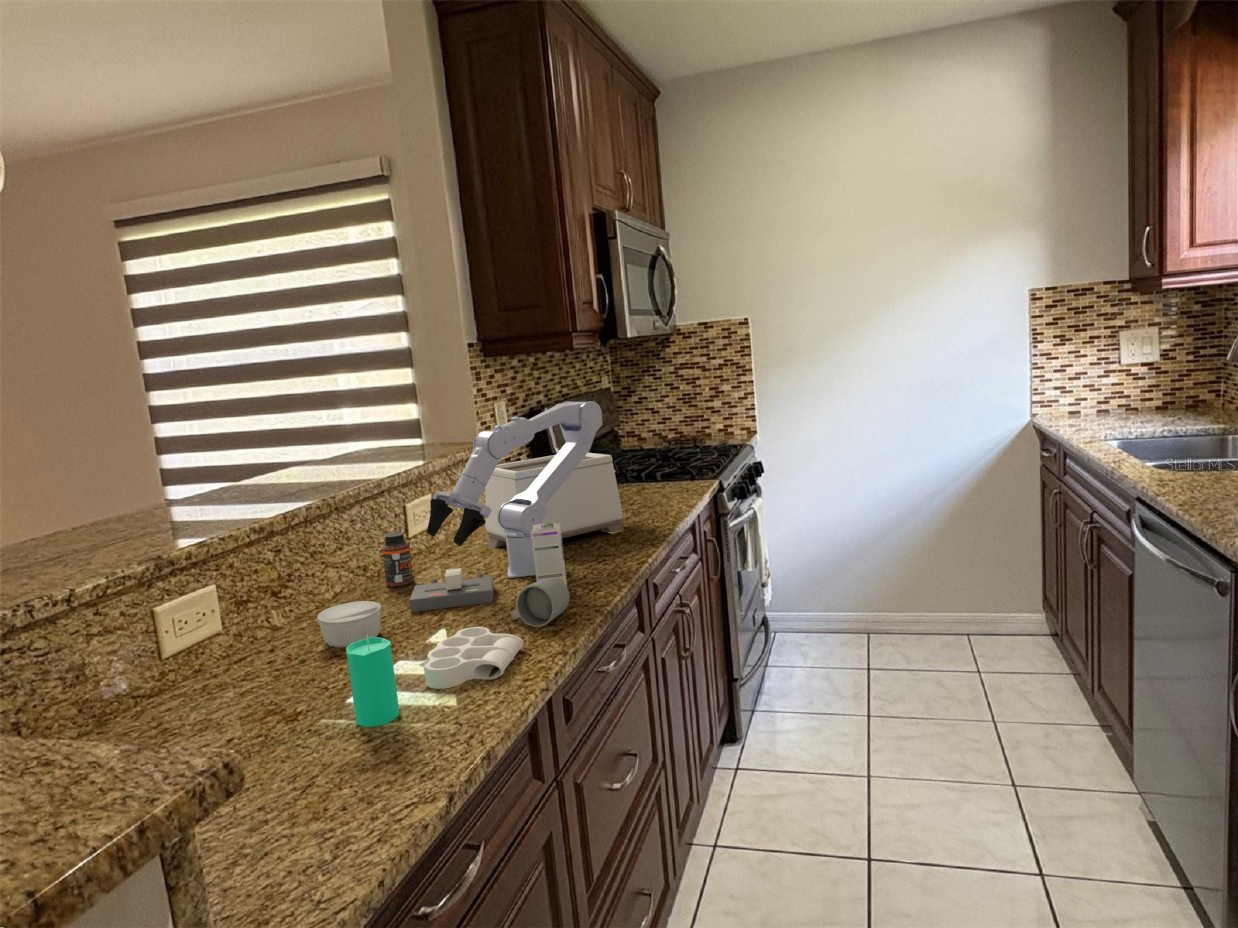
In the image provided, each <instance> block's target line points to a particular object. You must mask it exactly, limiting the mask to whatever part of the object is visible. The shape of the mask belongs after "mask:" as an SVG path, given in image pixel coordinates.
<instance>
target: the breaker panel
mask: <svg viewBox="0 0 1238 928" xmlns="http://www.w3.org/2000/svg"><path fill="white" fill-rule="evenodd" d="M494 586H495V585H494V578H493V576H484V573H478V574H477V577H475V578H467V579H463V583H462V587H461V588H459V589H450V590H446V584H445V581H441V582H438V579H437V578H432V580H431V582H430V583H423V584H416V585H414V588H413V589H412V593H411V595H410V598H409V607H410V613H415V612H423V611H432V610H438V609H439V610H441V609H448V608H455V607H465V606H472V605H480V604H481V605H482V604H489V603H490V604H491V603H493V601H494V590H495V589H494V588H495V587H494Z"/></svg>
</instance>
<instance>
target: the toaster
mask: <svg viewBox="0 0 1238 928" xmlns="http://www.w3.org/2000/svg"><path fill="white" fill-rule="evenodd" d="M555 455H556V454H554V455H552V454H551V455H548V456H547V455H546V456H542V457H535V458H531V459H524V460H518V461H512V462H508V463H507V462H506V463H501V464H497V466H496V468H495V470H494V471H493V473H492V475H491V477H490V479H489V481H488V483H487V485H486V487H485V489H484V491H485V505H486V506H488V507H489V508H490V509H492V511H491V513H490V515H489V517H488V518H486V517H485V521H486V522H485V530H486V535H488V539H487V541H486V546H489V547H490V548H494V549H497V548H501V547H500V546H502V547H504V546H505V545H506V546H507V544H506V534H505V533H504V529H503V528H502V527H501V526H500V525H499V523H498V520H497V514H498V511H499V509H500V507H501V506H502V505H503V504H504V503H506V502H509V501H510V500H512V498H513V497H514V496H516V495H518V494H520V493H522V492H524V491H526V490H527V489H528V488H529V486H530V485H531V484H532V483H533V482H534V480H535V479H536V478H537V477H538V476H539V474H540V473H541V472H542V471H543V470H544V468H545V467H546V466H547V465H548V464H549V462H550V461H551V460H552V459H553V458H554V457H555ZM613 462H614V461H613V457H612V455H611V454H605V453H604V454H603V453H594V452H593V453H592V452H588V453H587V454H586V456H585V457H584V458H583V459H582V460H581V462H580V463H579V464H578V465H577V467H576V468H575V469H574V470H573V472H572V473H571V474H570V475H569V477H568V478H567V479H566V480H565V482H564V483H563V484H562V485H561V486H560V488H559V489H558V490H557V491H556V493H555V494H554V495H553V496H552V498H551V499H550V500H549V501H548V503H547V504H546V506H547V508H548V514H547V515H546V516H545V518H544V521H543V523H553V522H558V523H560V529H561V538H562V539H567V538H570V537H575V536H578V535H583V534H586V533H590V532H595V531H599V530H600V529H601V530H604V531H607V532H615V531H618V530H620V529H624V527H623V525H622V522H623V517H624V515H623V510H622V504H621V498H620V494H619V489H618V488H619V487H618V482H617V478H616V474H615V473H616V470H615V468H614V463H613ZM601 530H600V531H601ZM624 530H625V529H624Z"/></svg>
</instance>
